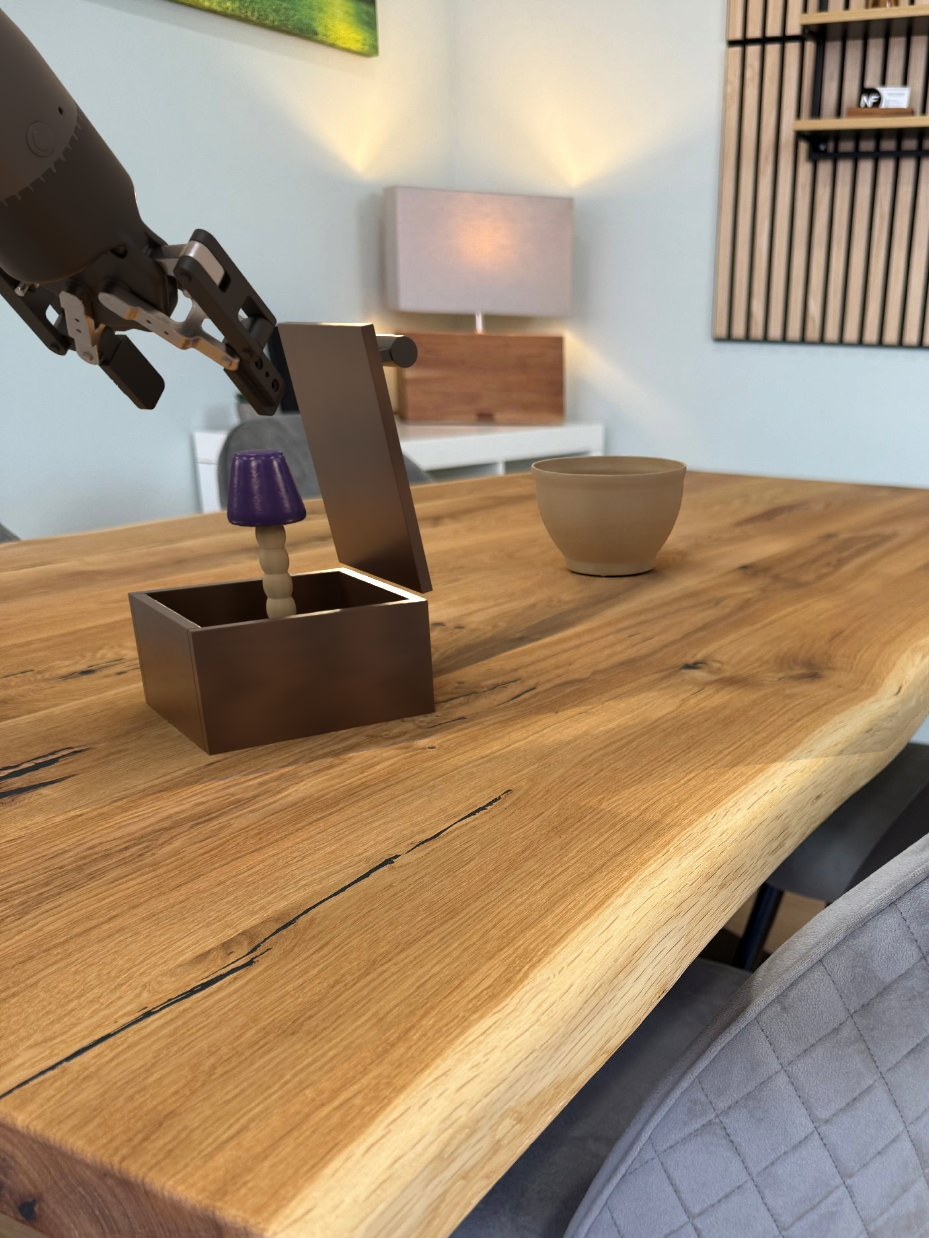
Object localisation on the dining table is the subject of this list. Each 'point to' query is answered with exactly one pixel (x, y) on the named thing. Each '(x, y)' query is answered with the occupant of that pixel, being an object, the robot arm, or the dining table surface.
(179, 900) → the dining table surface
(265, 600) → the chest
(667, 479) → the planter bowl
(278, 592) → the toy lamp
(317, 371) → the lid
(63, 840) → the dining table surface
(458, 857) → the dining table surface
